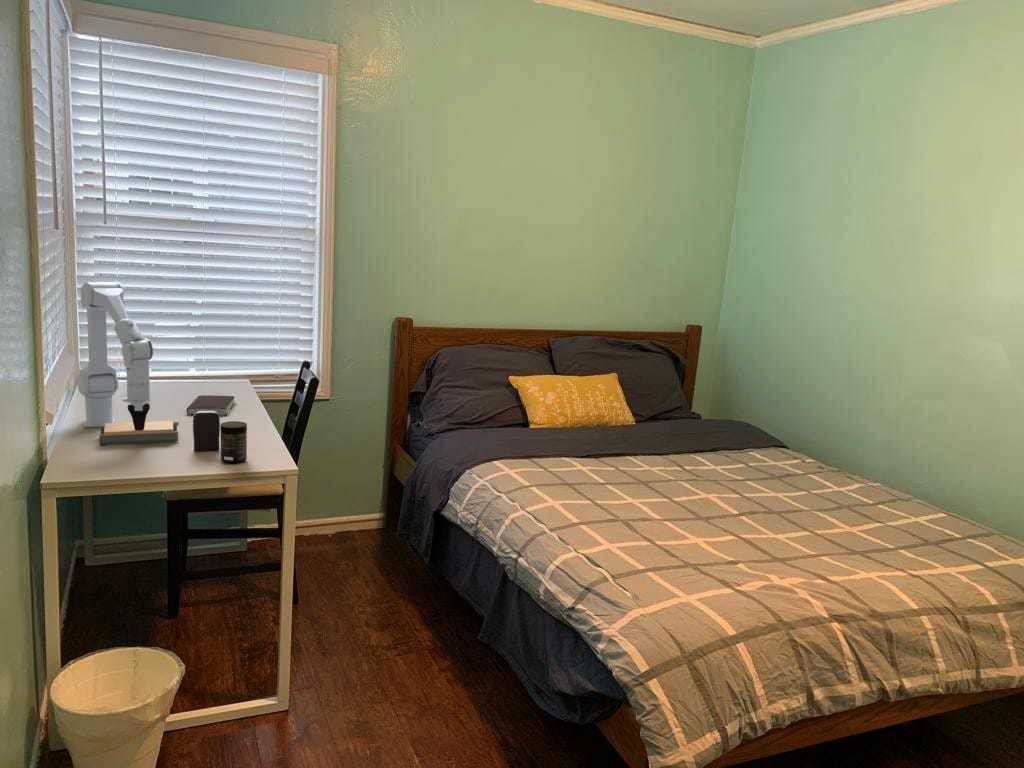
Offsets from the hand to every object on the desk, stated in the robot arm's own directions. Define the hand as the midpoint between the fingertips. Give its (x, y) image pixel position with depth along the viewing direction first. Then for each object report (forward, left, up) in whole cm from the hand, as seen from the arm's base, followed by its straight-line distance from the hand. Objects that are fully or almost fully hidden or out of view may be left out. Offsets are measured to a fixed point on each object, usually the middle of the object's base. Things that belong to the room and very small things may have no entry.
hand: (139, 429), depth 216 cm
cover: (-4, 0, -1) cm, 4 cm away
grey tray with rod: (-4, 0, -4) cm, 6 cm away
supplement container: (+22, +23, -4) cm, 32 cm away
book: (-39, +22, -5) cm, 45 cm away
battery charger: (+10, +17, -4) cm, 20 cm away
